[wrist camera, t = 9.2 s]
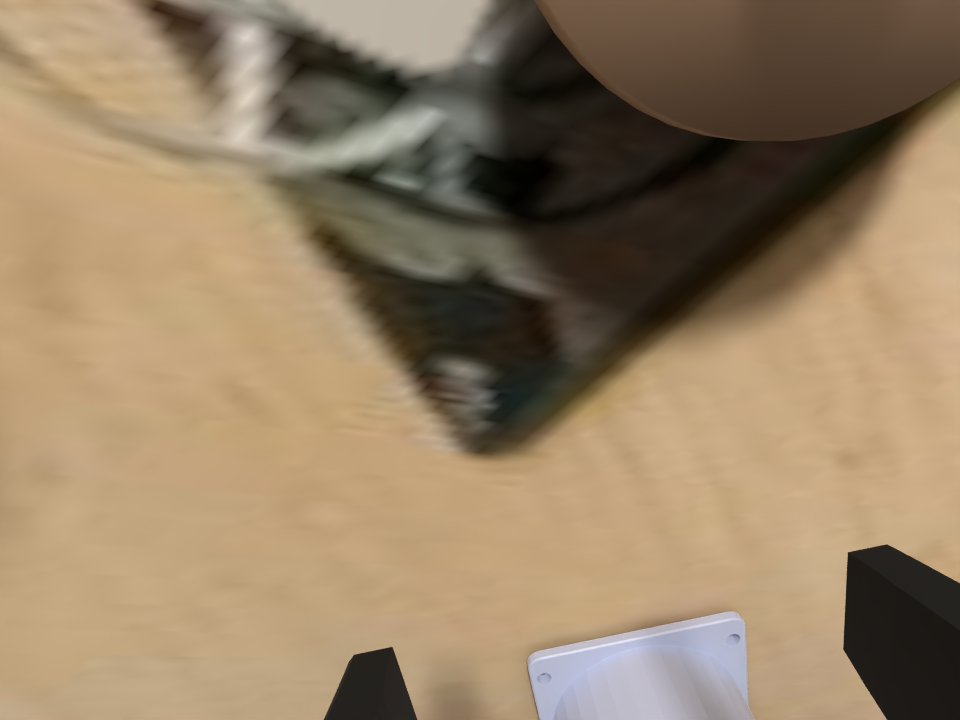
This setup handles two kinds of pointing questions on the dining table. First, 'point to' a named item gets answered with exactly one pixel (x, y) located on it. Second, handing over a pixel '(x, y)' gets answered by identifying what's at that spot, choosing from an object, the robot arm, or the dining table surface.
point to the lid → (764, 60)
